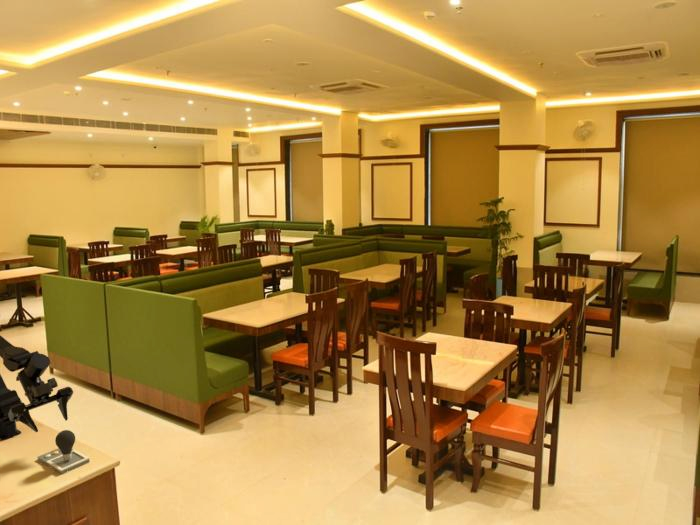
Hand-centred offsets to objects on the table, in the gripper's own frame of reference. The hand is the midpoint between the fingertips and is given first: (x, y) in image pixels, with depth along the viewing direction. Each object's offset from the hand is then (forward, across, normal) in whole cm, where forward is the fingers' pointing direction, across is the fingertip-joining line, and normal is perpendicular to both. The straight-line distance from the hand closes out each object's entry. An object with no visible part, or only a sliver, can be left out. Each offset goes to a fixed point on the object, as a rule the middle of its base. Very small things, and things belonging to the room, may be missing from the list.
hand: (52, 425), depth 184 cm
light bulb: (+12, 0, +1) cm, 12 cm away
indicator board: (+11, 0, +4) cm, 12 cm away
